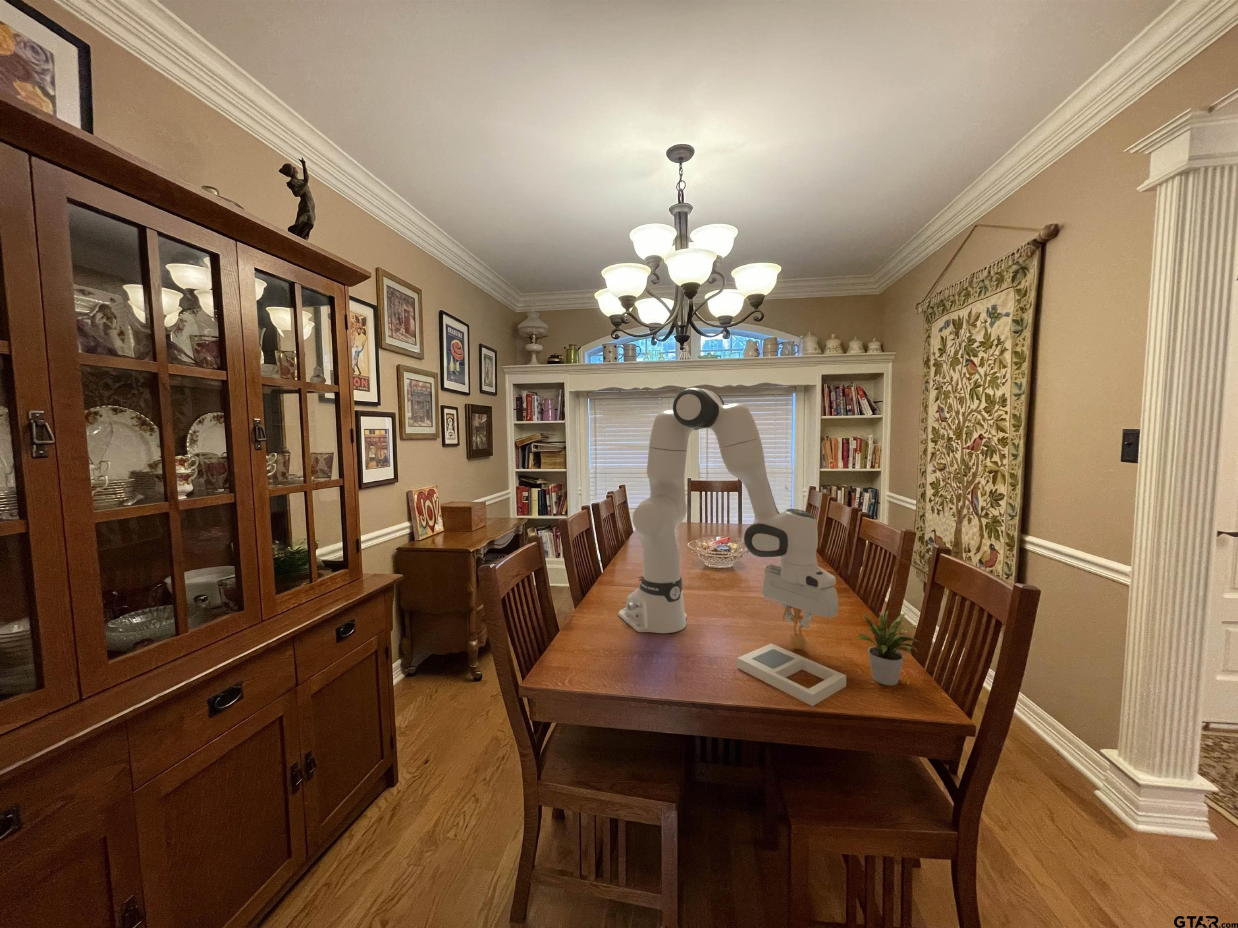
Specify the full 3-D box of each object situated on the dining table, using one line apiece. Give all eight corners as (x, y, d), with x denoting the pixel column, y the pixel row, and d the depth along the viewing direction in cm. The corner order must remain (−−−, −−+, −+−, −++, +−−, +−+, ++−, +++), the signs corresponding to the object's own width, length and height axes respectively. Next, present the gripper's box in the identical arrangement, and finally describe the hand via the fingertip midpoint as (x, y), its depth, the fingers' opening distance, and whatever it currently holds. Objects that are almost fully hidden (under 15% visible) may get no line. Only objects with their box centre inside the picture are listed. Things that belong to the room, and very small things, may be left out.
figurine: (784, 652, 120) (789, 609, 118) (775, 639, 126) (780, 598, 124) (815, 652, 121) (821, 610, 118) (805, 639, 127) (811, 598, 124)
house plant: (854, 692, 102) (855, 619, 101) (839, 662, 115) (840, 597, 114) (927, 700, 99) (929, 625, 98) (903, 668, 112) (905, 601, 111)
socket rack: (737, 667, 114) (737, 656, 113) (771, 652, 121) (771, 642, 121) (812, 706, 97) (812, 693, 97) (846, 686, 105) (846, 674, 104)
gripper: (758, 564, 128) (757, 613, 129) (828, 584, 112) (826, 640, 112) (772, 560, 132) (771, 608, 133) (842, 579, 115) (840, 633, 116)
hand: (797, 623), depth 123 cm, fingers closed on figurine, 3 cm apart
